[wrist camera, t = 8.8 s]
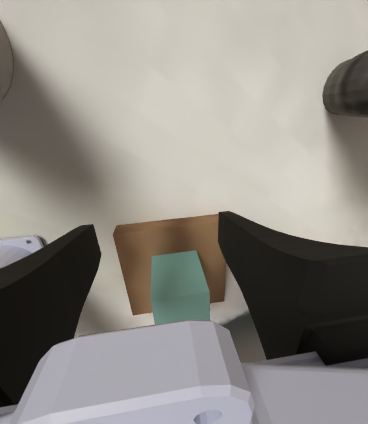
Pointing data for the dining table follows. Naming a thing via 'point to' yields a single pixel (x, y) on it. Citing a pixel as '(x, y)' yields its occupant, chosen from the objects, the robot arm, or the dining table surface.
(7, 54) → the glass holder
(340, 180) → the dining table surface
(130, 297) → the walnut base
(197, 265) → the teal block
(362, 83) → the beverage cup
